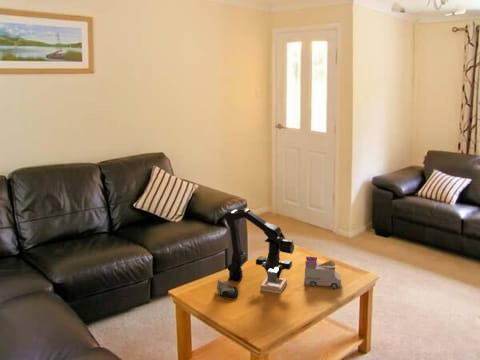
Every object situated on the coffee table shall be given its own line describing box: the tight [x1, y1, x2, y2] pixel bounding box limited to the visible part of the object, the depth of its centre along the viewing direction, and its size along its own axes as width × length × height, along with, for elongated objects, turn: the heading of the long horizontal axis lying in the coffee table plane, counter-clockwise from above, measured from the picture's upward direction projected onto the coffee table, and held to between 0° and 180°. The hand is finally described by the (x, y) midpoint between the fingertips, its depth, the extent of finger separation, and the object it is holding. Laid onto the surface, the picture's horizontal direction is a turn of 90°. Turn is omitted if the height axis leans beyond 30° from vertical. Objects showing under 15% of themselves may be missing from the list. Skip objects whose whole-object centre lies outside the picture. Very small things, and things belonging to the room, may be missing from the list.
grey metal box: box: [266, 267, 281, 283], centre depth 249 cm, size 5×6×6 cm
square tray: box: [259, 275, 288, 294], centre depth 251 cm, size 11×12×3 cm
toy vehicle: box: [303, 256, 342, 290], centre depth 251 cm, size 9×20×15 cm, turn 78°
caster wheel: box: [216, 278, 240, 300], centre depth 242 cm, size 7×11×10 cm
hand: (273, 277), depth 250 cm, fingers closed on grey metal box, 5 cm apart
